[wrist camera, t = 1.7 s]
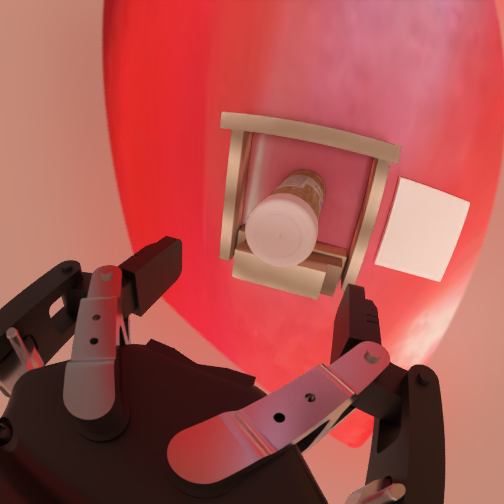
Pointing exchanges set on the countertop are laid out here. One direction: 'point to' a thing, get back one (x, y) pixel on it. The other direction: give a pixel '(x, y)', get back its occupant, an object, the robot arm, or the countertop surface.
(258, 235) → the sprinkles bottle
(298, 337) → the countertop surface
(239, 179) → the frame
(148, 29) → the countertop surface
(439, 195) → the cream mat
